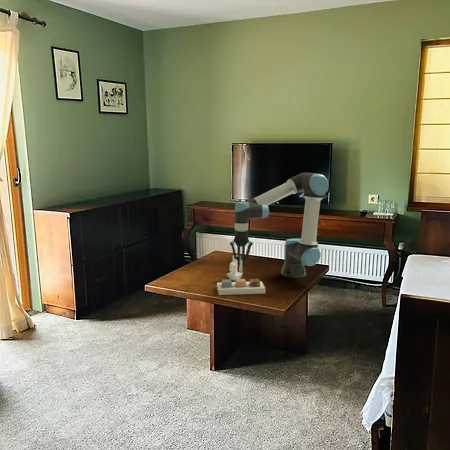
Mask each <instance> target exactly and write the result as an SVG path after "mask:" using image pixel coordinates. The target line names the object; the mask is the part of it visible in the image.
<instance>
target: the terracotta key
mask: <svg viewBox="0 0 450 450" xmlns="http://www.w3.org/2000/svg"><path fill="white" fill-rule="evenodd" d="M235 282H236V287H246V282H247V281H246V279H245V278H240V279H236V281H235Z"/></svg>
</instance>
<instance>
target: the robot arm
mask: <svg viewBox="0 0 450 450" xmlns="http://www.w3.org/2000/svg"><path fill="white" fill-rule="evenodd" d="M329 184H330V183H329V180H328V178H327V177H326V176H325V175H323V174H320V173H312V172H302V173H299V174H297V175H295V176H293V177H291V178H289V179H287V181H286V182H284V183H283V184H281V185H279V186H276V187H274V188H272V189H270V190H268V191H266V192H264V193H262V194H260V195H258V196H255V197H253V198H252V199H249V200H241V201H237V202H235V203H234V204H235V205H234V238H233V241H230V242H229V245H230V246H231V251H232V256H234V258H235V259H236V260H237V267H238V268H239V269H238V272H240V273H243V267H244V266H245V260H248V259H249V256H250V251H251V247H252V246H253V243H254V242H253V241H250V240H249V220H252V219H253V220H255V219H265V218H268V217H269V214H270V209H269V205H272V204H275V203H276V202H278V201H280V200H282V199H283V198H286V197H288V196H290V195H292V194H293V195H295V194H298V193H303V198H304V199H305V202H304V209H303V210H304V211H303V218H302V219H303V220H302V228H301V229H302V230H301V237H300V238H288V239H286V240H285V242H284V243H285V244H284V263H283V265H282V269H281V276H283V277H285V278H290V279H301V278H304V277H306V276H307V272H306V268H305V266H308V267H313V266H315V265H316V264H317V263H318V262H320V259H321V254H322V253H321V251H320V249H319V242H318V241H317V234H318V233H317V232H318V224H319V217H320V216H319V215H320V207H321V201H322V200H323V199H324V195H325V194H326V193H327V192H328V191H329V186H330V185H329ZM235 245H236V247H237V252H236V249H235ZM246 245H247V248H246ZM245 249H246V250H245ZM245 251H246V252H245ZM236 253H237V254H236ZM236 256H237V257H236Z"/></svg>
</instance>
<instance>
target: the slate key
mask: <svg viewBox="0 0 450 450" xmlns="http://www.w3.org/2000/svg"><path fill="white" fill-rule="evenodd" d="M221 282H222V288H231V287H232V282H233V281H232V280H231V279H229V278H228V279H227V278H226V279H221Z"/></svg>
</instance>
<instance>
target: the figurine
mask: <svg viewBox="0 0 450 450" xmlns="http://www.w3.org/2000/svg"><path fill="white" fill-rule="evenodd" d="M236 257H237V255H236ZM229 271H230V272H228V273H226V275H227V277H228V279H231V281H233V282H236V279H242V276H243V274H244V273H243V272H240V271H238V265H237V260H236V259H235V258H234V255H232V261H231V262H230V263H229Z"/></svg>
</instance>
